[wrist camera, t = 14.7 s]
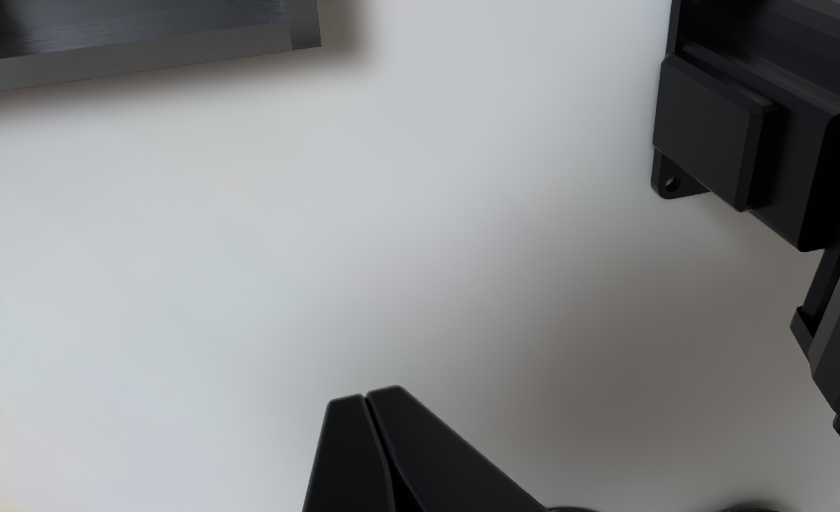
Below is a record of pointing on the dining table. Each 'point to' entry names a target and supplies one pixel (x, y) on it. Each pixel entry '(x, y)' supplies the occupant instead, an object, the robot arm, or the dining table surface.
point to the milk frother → (746, 511)
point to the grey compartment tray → (142, 35)
